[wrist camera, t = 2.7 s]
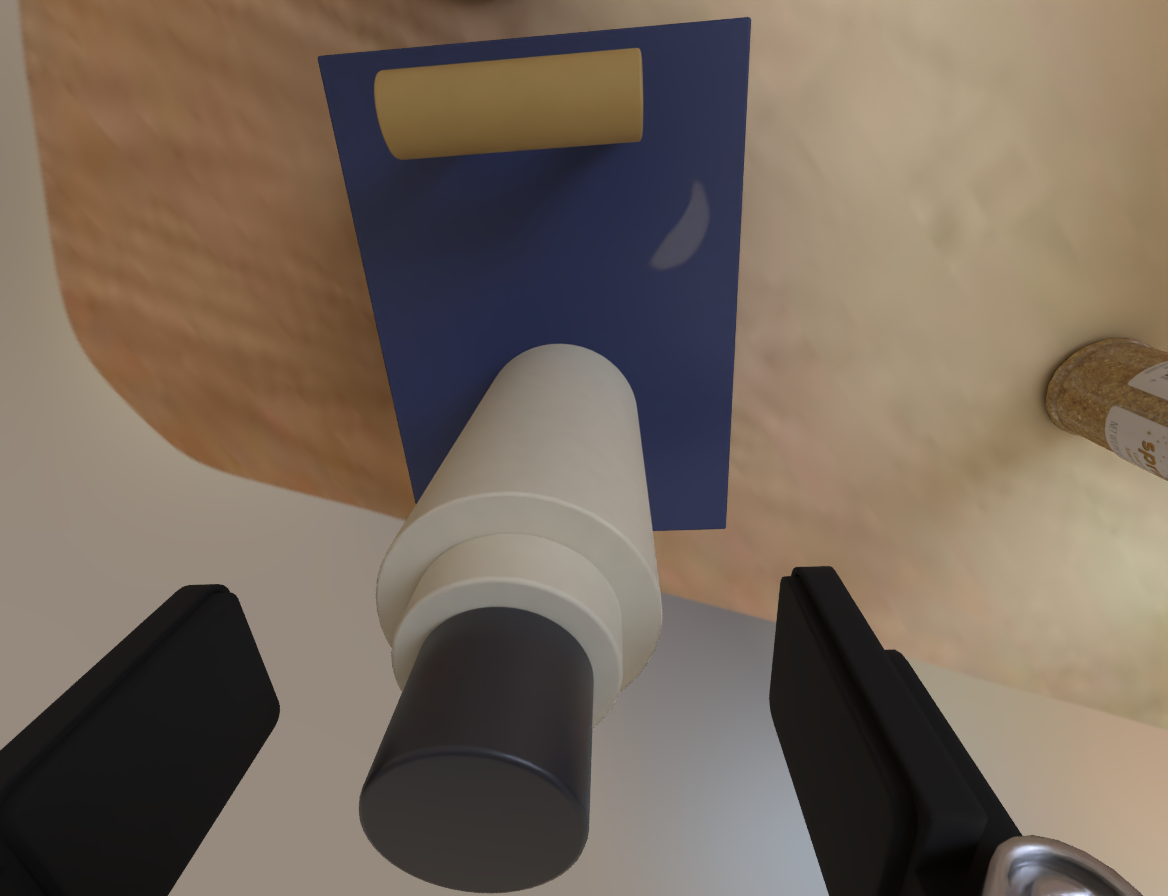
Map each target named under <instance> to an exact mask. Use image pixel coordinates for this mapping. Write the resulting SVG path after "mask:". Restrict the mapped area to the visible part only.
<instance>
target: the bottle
mask: <svg viewBox="0 0 1168 896" xmlns="http://www.w3.org/2000/svg"><path fill="white" fill-rule="evenodd" d="M376 603H377V612H378V616H379V620H380V624H381V627H382V630H383V632H384V634H385V637H386V639H387V641H388V643H389V644H390V646H391V648H392V651H391V653H392V666H393V670H394V675H395V678H396V681H397V683H398V685H399V687H400V690H401V691H402V694H401V697H400V699H399V702H398V704H397V706H396V709H395V711H394V713H393V716H392V719H391V721H390V723H389V725H388V728H387V730H386V733H385V735H384V737H383V740H382V742H381V745H380V747H379V749H378V752H377V754H376V756H375V759H374V762H373V764H372V766H371V769H370V771H369V773H368V776H367V778H366V781H365V783H364V785H363V788H362V791H361V794H360V800H359V816H360V822H361V825H362V828H363V831H364V832H365V834H366V836H367V838H368V840H369V841H370V842H371V844H372V845H373V846H374V848H375V849H376V850H377V851H378V852H379V853H380V854H381V855H382V856H383V857H384V858H386V859H387V860H388V861H389V862H391V863H392V864H393V865H395V866H396V867H398V868H400V869H401V870H403V871H404V872H406V873H408V874H410V875H412V876H414V877H416V878H419V879H421V880H423V881H426V882H429V883H432V884H435V885H438V886H442V887H445V888H449V889H454V890H460V891H466V892H475V893H507V892H513V891H520V890H525V889H529V888H533V887H536V886H539V885H542V884H544V883H546V882H549V881H551V880H553V879H555V878H556V877H558V876H560V875H562V874H563V873H564V872H566V871H567V870H568V869H569V868H570V867H571V866H572V865H573V864H574V863H575V862H576V861H577V860H578V858H579V856H580V855H581V853H582V851H583V849H584V847H585V844H586V841H587V839H588V832H589V812H590V782H591V751H592V728H594V727H595V726H596V725H597V724H599V723H600V722H601V721H602V720H603V719H604V718H605V716H606V715H607V714H608V713H609V711H610V710H611V709H612V707H613V705H614V703H615V701H616V699H617V698H618V695H619V692H621V691H622V690H623V689H625V688H626V687H627V686H628V685H629V684H631V682H633V681H634V679H636V678H637V677H638V675H639V674H640V673H641V672H642V670H643V669H644V668H645V666H646V665H647V664H648V662H649V660H650V658H651V656H652V655H653V653H654V651H655V648H656V645H657V643H658V640H659V637H660V632H661V627H662V609H663V608H662V600H661V592H660V585H659V577H658V569H657V561H656V553H655V545H654V537H653V530H652V522H651V514H650V506H649V498H648V490H647V482H646V475H645V467H644V459H643V451H642V443H641V435H640V428H639V420H638V412H637V405H636V400H635V397H634V394H633V391H632V389H631V387H630V385H629V383H628V381H627V380H626V378H625V377H624V375H623V374H622V373H621V372H620V371H619V369H618V368H617V367H616V366H615V365H613V364H612V363H611V362H610V361H609V360H607V359H606V358H605V357H603V356H602V355H600V354H598V353H596V352H594V351H592V350H589V349H587V348H584V347H580V346H576V345H570V344H548V345H542V346H538V347H535V348H532V349H529V350H527V351H525V352H523V353H521V354H520V355H518V356H516V357H515V358H513V359H512V360H511V361H510V362H509V363H507V364H506V365H505V366H504V368H503V369H502V370H501V371H500V372H499V374H498V375H497V377H496V378H495V380H494V381H493V383H492V384H491V386H490V388H489V389H488V391H487V392H486V394H485V396H484V397H483V399H482V400H481V402H480V404H479V405H478V407H477V408H476V410H475V412H474V413H473V415H472V416H471V418H470V420H469V421H468V423H467V424H466V426H465V428H464V429H463V431H462V432H461V434H460V436H459V437H458V439H457V440H456V442H455V443H454V445H453V447H452V448H451V450H450V451H449V453H448V455H447V456H446V458H445V459H444V461H443V463H442V464H441V466H440V467H439V469H438V471H437V472H436V474H435V475H434V477H433V479H432V480H431V482H430V483H429V485H428V487H427V488H426V490H425V491H424V493H423V495H422V496H421V498H420V499H419V501H418V503H417V504H416V506H415V507H414V509H413V511H412V512H411V514H410V515H409V517H408V519H407V520H406V522H405V523H404V525H403V527H402V528H401V530H400V531H399V533H398V535H397V536H396V538H395V540H394V541H393V543H392V544H391V546H390V547H389V549H388V551H387V552H386V555H385V557H384V559H383V561H382V564H381V566H380V571H379V574H378V578H377V587H376Z"/></svg>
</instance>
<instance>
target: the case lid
mask: <svg viewBox="0 0 1168 896" xmlns="http://www.w3.org/2000/svg"><path fill="white" fill-rule="evenodd" d="M750 32H751V18H749V17H744V18H733V19H722V20H711V21H700V22H689V23H678V24H667V25H656V26H645V27H634V28H623V29H612V30H600V31H589V32H578V33H567V34H556V35H545V36H534V37H523V38H512V39H501V40H490V41H479V42H468V43H457V44H446V45H435V46H424V47H413V48H401V49H390V50H379V51H368V52H357V53H346V54H335V55H324V56H319V57H318V63H319V67H320V72H321V76H322V81H323V85H324V90H325V94H326V99H327V103H328V108H329V112H330V117H331V122H332V126H333V131H334V135H335V140H336V144H337V149H338V153H339V158H340V162H341V167H342V171H343V176H344V181H345V185H346V190H347V194H348V199H349V203H350V208H351V212H352V217H353V221H354V226H355V230H356V235H357V240H358V244H359V249H360V253H361V258H362V262H363V267H364V271H365V276H366V280H367V285H368V289H369V294H370V299H371V303H372V308H373V312H374V317H375V321H376V326H377V330H378V335H379V339H380V344H381V348H382V353H383V358H384V362H385V367H386V371H387V376H388V380H389V385H390V389H391V394H392V398H393V403H394V407H395V412H396V417H397V421H398V426H399V430H400V435H401V439H402V444H403V448H404V453H405V457H406V462H407V466H408V471H409V476H410V480H411V485H412V489H413V494H414V498H415V503H416V504H417V503H418V501H419V499H420V498H421V496H422V495H423V493H424V491H425V490H426V488H427V487H428V485H429V483H430V482H431V480H432V479H433V477H434V475H435V474H436V472H437V471H438V469H439V467H440V466H441V464H442V463H443V461H444V459H445V458H446V456H447V455H448V453H449V451H450V450H451V448H452V447H453V445H454V443H455V442H456V440H457V439H458V437H459V436H460V434H461V432H462V431H463V429H464V428H465V426H466V424H467V423H468V421H469V420H470V418H471V416H472V415H473V413H474V412H475V410H476V408H477V407H478V405H479V404H480V402H481V400H482V399H483V397H484V396H485V394H486V392H487V391H488V389H489V388H490V386H491V384H492V383H493V381H494V380H495V378H496V377H497V375H498V374H499V372H500V371H501V370H502V369H503V368H504V366H505V365H506V364H507V363H509V362H510V361H511V360H512V359H513V358H515V357H516V356H518V355H520V354H521V353H523V352H525V351H527V350H529V349H532V348H535V347H538V346H542V345H548V344H570V345H576V346H580V347H584V348H587V349H589V350H592V351H594V352H596V353H598V354H600V355H602V356H603V357H605V358H606V359H607V360H609V361H610V362H611V363H612V364H613V365H615V366H616V367H617V368H618V369H619V371H620V372H621V373H622V374H623V375H624V377H625V378H626V380H627V381H628V383H629V385H630V387H631V389H632V391H633V394H634V397H635V400H636V405H637V412H638V420H639V428H640V435H641V443H642V451H643V459H644V467H645V475H646V482H647V490H648V498H649V506H650V514H651V522H652V530H653V531H668V530H701V529H725V528H726V513H727V493H728V473H729V453H730V433H731V413H732V393H733V373H734V353H735V333H736V313H737V293H738V273H739V253H740V233H741V213H742V192H743V172H744V152H745V132H746V112H747V92H748V72H749V52H750Z"/></svg>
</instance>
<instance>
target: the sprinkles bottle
mask: <svg viewBox="0 0 1168 896" xmlns="http://www.w3.org/2000/svg"><path fill="white" fill-rule="evenodd" d="M1045 402H1046V410H1047V412H1048V415H1049V416H1050V418H1051V419H1052V420H1053V421H1054V423H1055V424H1056V425H1057V426H1058V427H1059V428H1060V429H1062V430H1065V431H1067V432H1069V433H1071V434H1074V435H1080V436H1082V437H1085V438H1087V439H1089V440H1091V441H1092V442H1094V443H1096V444H1098V445H1100V446H1102V447H1105V448H1106V449H1108V450H1110V451H1112V452H1114V453H1116V454H1117V455H1118V456H1119V457H1121V458H1123V459H1125V460H1126V461H1128V462H1130V463H1132V464H1134V465H1136V466H1138V467H1140V468H1142V469H1144V470H1146V471H1148V472H1150V473H1152V474H1154V475H1157V476H1159V477H1161V478H1163V479H1165V480H1167V481H1168V353H1167V352H1163V351H1160V350H1157V349H1154V348H1152V347H1150V346H1149V345H1147V344H1145V343H1143V342H1141V341H1138V340H1134V339H1128V338H1111V339H1106V340H1102V341H1099V342H1096V343H1092V344H1090V345H1088V346H1086V347H1084V348H1082V349H1080V350H1079V351H1077V352H1076V353H1074V354H1073V355H1072V356H1071V357H1070V358H1069V359H1067V360H1066V361H1065V362H1064V363H1063V364H1062V365H1061V366H1060V367H1059V368H1058V369H1057V370H1056V371H1055V373H1054V375H1053V378H1052V379H1051V381H1050V382H1049V386H1048V390H1047V396H1046V401H1045Z"/></svg>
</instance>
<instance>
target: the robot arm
mask: <svg viewBox="0 0 1168 896" xmlns="http://www.w3.org/2000/svg"><path fill="white" fill-rule="evenodd" d="M769 696H770V697H769V700H770V710H771V715H772V719H773V722H774V726H775V728H776V732H777V735H778V738H779V741H780V744H781V747H782V750H783V754H784V757H785V760H786V763H787V766H788V769H789V772H790V775H791V778H792V781H793V785H794V788H795V790H796V794H797V797H798V800H799V803H800V806H801V810H802V813H803V816H804V819H805V822H806V825H807V828H808V831H809V834H810V837H811V841H812V844H813V847H814V850H815V853H816V856H817V859H818V862H819V866H820V869H821V872H822V875H823V878H824V881H825V884H826V887H827V890H828V893H829V896H1143V895H1142V894H1141V893H1140V892H1139V891H1138V890H1137V889H1135V888H1134V887H1133V886H1132V885H1131V884H1130V883H1129V882H1127V881H1126V880H1125V879H1124V878H1123V877H1122V876H1120V875H1119V874H1118V873H1117V872H1116V871H1115V870H1113V869H1112V868H1110V867H1109V866H1107V865H1105V864H1104V863H1102V862H1101V861H1099V860H1098V859H1096V858H1094V857H1093V856H1091V855H1090V854H1088V853H1086V852H1085V851H1082V850H1080V849H1078V848H1075V847H1073V846H1071V845H1068V844H1066V843H1064V842H1061V841H1059V840H1055V839H1050V838H1045V837H1040V836H1035V835H1030V836H1022V834H1021V833H1020V831H1019V830H1018V828H1017V827H1016V826H1015V824H1014V822H1013V821H1012V819H1011V818H1010V816H1009V814H1008V813H1007V811H1006V810H1005V808H1004V807H1003V806H1002V804H1001V802H1000V801H999V799H998V798H997V796H996V795H995V793H994V792H993V790H992V789H991V787H990V786H989V784H988V783H987V781H986V779H985V778H984V777H983V775H982V774H981V772H980V770H979V769H978V767H977V766H976V764H975V763H974V761H973V760H972V758H971V757H970V755H969V754H968V752H967V751H966V749H965V748H964V746H963V744H962V743H961V742H960V740H959V739H958V737H957V736H956V734H955V732H954V731H953V730H952V728H951V726H950V725H949V723H948V722H947V720H946V719H945V717H944V716H943V714H942V713H941V711H940V710H939V708H938V707H937V705H936V703H935V702H934V700H933V699H932V697H931V696H930V695H929V693H928V691H927V690H926V688H925V687H924V685H923V684H922V682H921V681H920V679H919V678H918V676H917V675H916V673H915V672H914V670H913V668H912V667H911V666H910V664H909V662H908V661H907V660H906V659H905V657H904V656H903V655H902V654H901V653H899V652H898V651H896V650H884V648H883V647H882V645H881V644H880V642H879V640H878V639H877V637H876V636H875V634H874V632H873V631H872V629H871V628H870V626H869V624H868V623H867V621H866V619H865V618H864V616H863V615H862V613H861V611H860V610H859V608H858V607H857V605H856V603H855V602H854V600H853V599H852V597H851V595H850V594H849V592H848V591H847V589H846V587H845V586H844V584H843V582H842V581H841V579H840V578H839V576H838V574H837V573H836V571H835V570H834V569H833V568H832V567H830V566H819V567H795V568H794V569H793V571H792V574H791V576H785V577H782V579H781V583H780V592H779V602H778V612H777V622H776V632H775V643H774V653H773V663H772V673H771V684H770V694H769ZM279 713H280V705H279V701H278V699H277V696H276V693H275V691H274V688H273V686H272V683H271V681H270V678H269V676H268V673H267V671H266V668H265V666H264V663H263V661H262V658H261V655H260V653H259V651H258V648H257V645H256V643H255V640H254V638H253V635H252V633H251V630H250V628H249V625H248V623H247V620H246V618H245V615H244V613H243V610H242V607H241V605H240V602H239V600H238V598H237V596H236V595H235V594H233V593H230V591H229V590H228V588H227V587H225V586H224V585H220V584H209V585H188V586H184V587H182V588H181V589H179V590H178V591H177V592H175V593H174V594H173V595H172V596H171V597H170V598H169V599H168V600H167V601H166V602H164V603H163V604H162V605H161V606H160V607H159V608H158V609H157V610H155V611H154V612H153V613H152V614H151V615H150V616H149V617H148V618H147V619H145V620H144V621H143V622H142V623H141V624H140V625H139V626H138V627H137V628H135V630H133V631H132V632H131V633H130V634H129V635H128V636H127V637H126V638H124V639H123V640H122V641H121V642H120V643H119V644H118V645H117V646H116V647H115V648H113V649H112V650H111V651H110V652H109V653H108V654H107V655H106V656H105V657H103V658H102V659H101V660H100V661H99V662H98V663H97V664H96V665H95V666H93V667H92V668H91V669H90V670H89V671H88V672H87V673H86V674H85V675H83V676H82V677H81V678H80V679H79V680H78V681H77V682H76V683H75V684H74V685H72V686H71V687H70V688H69V689H68V690H67V691H66V692H65V693H64V694H63V695H61V696H60V697H59V698H58V699H57V700H56V701H55V702H54V703H52V704H51V705H50V706H49V707H48V708H47V709H46V710H45V711H44V712H42V713H41V714H40V715H39V716H38V717H37V718H36V719H35V720H34V721H32V722H31V723H30V724H29V725H28V726H27V727H26V728H25V729H24V730H23V731H21V732H20V733H19V734H18V735H17V736H16V737H15V738H14V739H13V740H12V741H10V742H9V743H8V744H7V745H6V746H5V747H4V748H3V749H2V750H0V896H168V894H169V893H170V891H171V890H172V888H173V886H174V885H175V883H176V882H177V880H178V879H179V877H180V875H181V874H182V872H183V871H184V869H185V868H186V866H187V865H188V863H189V861H190V860H191V858H192V857H193V855H194V853H195V852H196V850H197V849H198V847H199V846H200V844H201V842H202V841H203V839H204V838H205V836H206V835H207V833H208V831H209V830H210V828H211V827H212V825H213V824H214V822H215V820H216V818H217V817H218V816H219V814H220V812H221V811H222V809H223V808H224V806H225V805H226V803H227V801H228V800H229V798H230V796H231V795H232V794H233V792H234V790H235V789H236V787H237V786H238V784H239V782H240V781H241V779H242V778H243V776H244V775H245V773H246V771H247V770H248V768H249V767H250V765H251V763H252V762H253V760H254V759H255V757H256V756H257V754H258V752H259V751H260V749H261V747H262V746H263V745H264V743H265V741H266V740H267V738H268V737H269V735H270V734H271V732H272V730H273V729H274V727H275V725H276V723H277V721H278V718H279Z"/></svg>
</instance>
